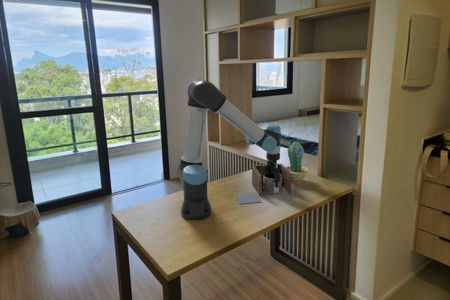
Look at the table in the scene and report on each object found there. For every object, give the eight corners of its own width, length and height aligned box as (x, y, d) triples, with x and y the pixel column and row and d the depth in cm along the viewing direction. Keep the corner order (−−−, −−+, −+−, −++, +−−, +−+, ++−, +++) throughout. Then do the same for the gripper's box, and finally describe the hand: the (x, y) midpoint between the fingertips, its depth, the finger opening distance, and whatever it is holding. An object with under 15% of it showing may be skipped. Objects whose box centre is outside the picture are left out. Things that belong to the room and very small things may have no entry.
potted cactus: (279, 184, 192) (281, 144, 185) (284, 175, 206) (286, 138, 199) (305, 187, 186) (308, 146, 180) (308, 178, 200) (311, 140, 193)
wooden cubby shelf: (259, 196, 175) (259, 175, 172) (252, 184, 192) (252, 165, 189) (291, 193, 178) (291, 173, 174) (281, 182, 195) (281, 163, 192)
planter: (280, 195, 175) (280, 179, 173) (261, 193, 179) (261, 177, 176) (283, 188, 185) (283, 173, 183) (264, 186, 189) (265, 171, 186)
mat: (239, 204, 166) (239, 203, 166) (235, 195, 177) (235, 194, 177) (261, 202, 167) (261, 201, 167) (256, 193, 179) (256, 192, 179)
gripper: (287, 158, 164) (285, 195, 170) (273, 146, 188) (272, 179, 194) (273, 159, 163) (272, 197, 169) (261, 147, 187) (260, 180, 193)
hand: (272, 187), depth 182 cm, fingers open, 13 cm apart
